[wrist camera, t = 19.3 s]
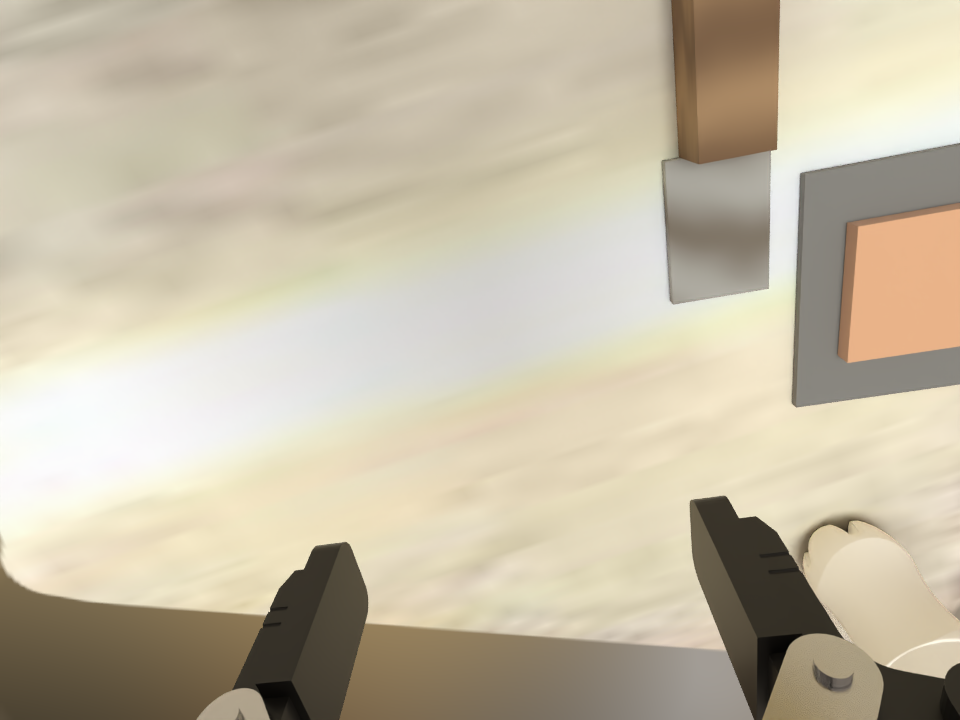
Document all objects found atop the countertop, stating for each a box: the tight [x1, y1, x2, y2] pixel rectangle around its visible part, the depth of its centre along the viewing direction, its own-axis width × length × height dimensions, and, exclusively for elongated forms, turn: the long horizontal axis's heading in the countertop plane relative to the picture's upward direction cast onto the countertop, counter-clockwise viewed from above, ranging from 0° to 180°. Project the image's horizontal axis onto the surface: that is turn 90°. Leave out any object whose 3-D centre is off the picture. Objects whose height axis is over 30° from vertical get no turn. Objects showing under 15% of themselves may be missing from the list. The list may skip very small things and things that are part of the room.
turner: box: [662, 0, 780, 304], centre depth 31 cm, size 21×6×4 cm, turn 11°
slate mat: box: [792, 143, 960, 407], centre depth 36 cm, size 16×12×1 cm
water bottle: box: [803, 521, 960, 679], centre depth 34 cm, size 7×7×25 cm
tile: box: [838, 203, 960, 363], centre depth 35 cm, size 1×7×9 cm
